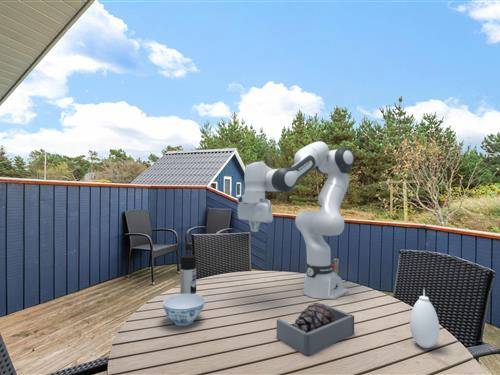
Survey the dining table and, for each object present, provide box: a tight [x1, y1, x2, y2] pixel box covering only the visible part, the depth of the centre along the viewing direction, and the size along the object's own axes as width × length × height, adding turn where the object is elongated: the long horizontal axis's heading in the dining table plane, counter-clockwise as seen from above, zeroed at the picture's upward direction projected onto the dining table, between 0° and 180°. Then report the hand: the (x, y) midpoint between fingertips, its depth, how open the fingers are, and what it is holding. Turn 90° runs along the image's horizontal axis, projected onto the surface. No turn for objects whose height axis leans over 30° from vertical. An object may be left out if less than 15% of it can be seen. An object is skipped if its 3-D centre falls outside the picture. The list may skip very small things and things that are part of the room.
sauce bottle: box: [409, 288, 440, 349], centre depth 91 cm, size 8×8×18 cm
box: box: [276, 303, 355, 357], centre depth 97 cm, size 23×13×6 cm, turn 127°
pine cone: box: [291, 302, 334, 333], centre depth 96 cm, size 10×18×10 cm, turn 142°
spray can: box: [179, 254, 197, 294], centre depth 125 cm, size 7×7×20 cm
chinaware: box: [162, 293, 206, 327], centre depth 107 cm, size 15×15×8 cm
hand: (254, 231), depth 123 cm, fingers closed
